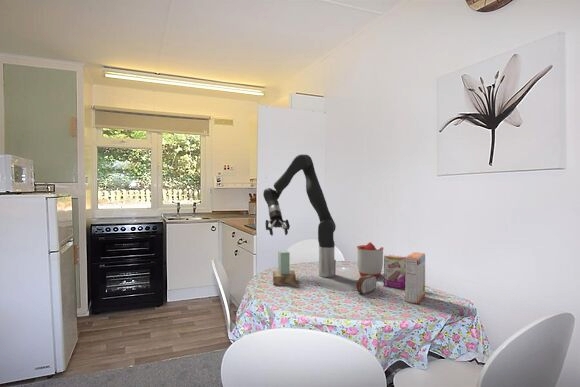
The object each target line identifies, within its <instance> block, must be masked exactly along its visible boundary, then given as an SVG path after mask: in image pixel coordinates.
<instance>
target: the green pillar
mask: <svg viewBox="0 0 580 387" xmlns="http://www.w3.org/2000/svg"><path fill="white" fill-rule="evenodd" d="M277 259H278V262H277V263H278V265H277V266H278V268H277V271H278V273H279V274H280V275H285V274H289V271H291V270H290V262H291V261H290V260H291V259H290V251H288V250H281V251H280V250H279V251H278V258H277Z"/></svg>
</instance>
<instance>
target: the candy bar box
mask: <svg viewBox="0 0 580 387" xmlns="http://www.w3.org/2000/svg"><path fill="white" fill-rule="evenodd" d="M407 256H408V255H407ZM407 256H405V255H397V254H396V255H395V254H385V255H383V287H389V288H398V289H405V257H407Z"/></svg>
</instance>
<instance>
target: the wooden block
mask: <svg viewBox="0 0 580 387" xmlns="http://www.w3.org/2000/svg"><path fill="white" fill-rule="evenodd" d="M296 277H297V276H296V273H295V270H289V274H285V275H280V274H279V273H278V270H273V271H272V283H273V284H272V286H296V285H297V282H296V280H297V278H296Z"/></svg>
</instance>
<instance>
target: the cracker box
mask: <svg viewBox="0 0 580 387" xmlns="http://www.w3.org/2000/svg"><path fill="white" fill-rule="evenodd" d="M404 292H405V296H404V297H405V299H404V300H405V302H407V303H411V304H419V303H420V302H421V301H422V300H423V299H424V298H425V296H426V253H423V252H412V253H410V254H408V255H407V257H405V291H404Z"/></svg>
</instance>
